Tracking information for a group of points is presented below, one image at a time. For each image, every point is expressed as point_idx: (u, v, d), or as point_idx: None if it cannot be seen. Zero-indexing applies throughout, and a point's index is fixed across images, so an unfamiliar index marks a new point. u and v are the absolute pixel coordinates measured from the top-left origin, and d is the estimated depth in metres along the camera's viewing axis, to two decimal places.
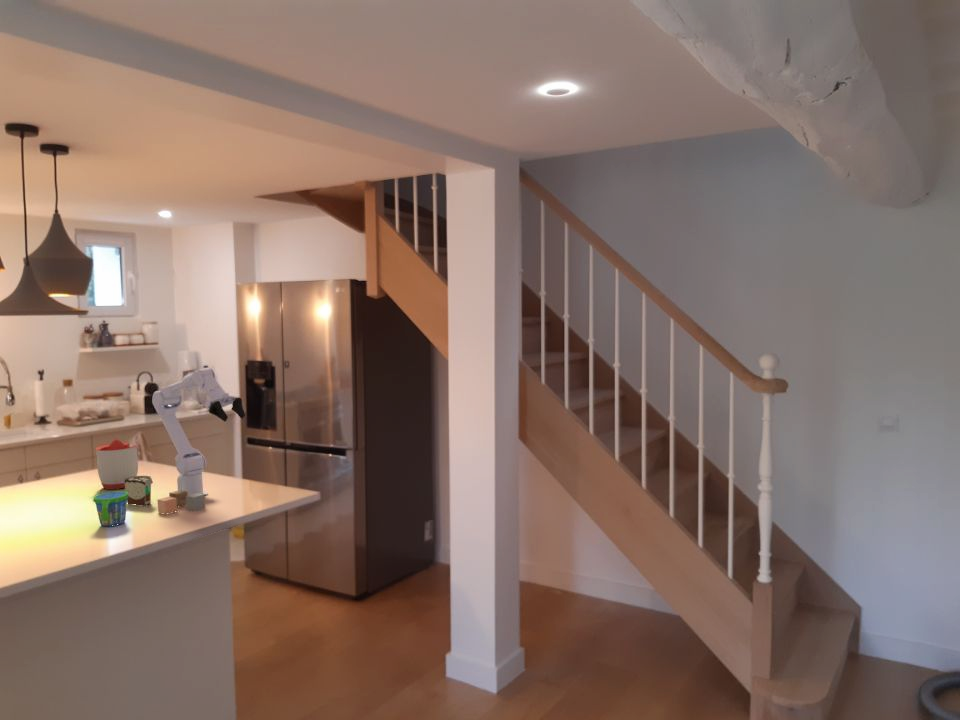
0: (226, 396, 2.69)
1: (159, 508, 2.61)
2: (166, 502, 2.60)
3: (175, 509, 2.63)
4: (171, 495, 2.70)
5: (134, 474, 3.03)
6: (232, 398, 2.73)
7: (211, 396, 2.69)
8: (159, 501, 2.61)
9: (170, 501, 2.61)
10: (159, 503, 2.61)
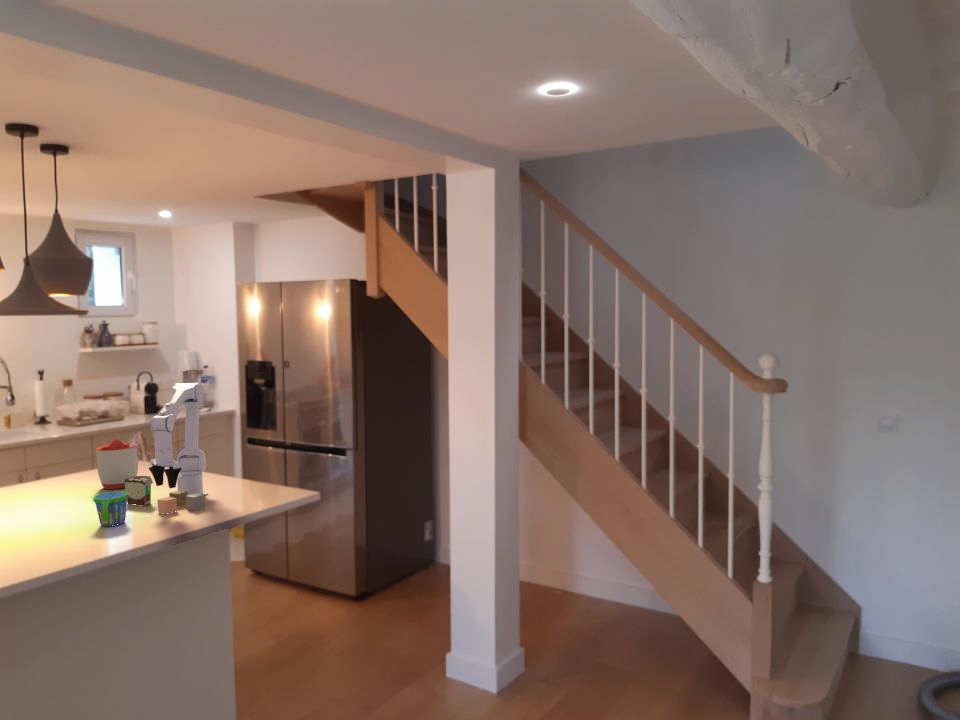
0: (157, 465, 2.59)
1: (159, 508, 2.61)
2: (166, 502, 2.60)
3: (175, 509, 2.63)
4: (171, 495, 2.70)
5: (134, 474, 3.03)
6: None
7: None
8: (159, 501, 2.61)
9: (170, 501, 2.61)
10: (159, 503, 2.61)
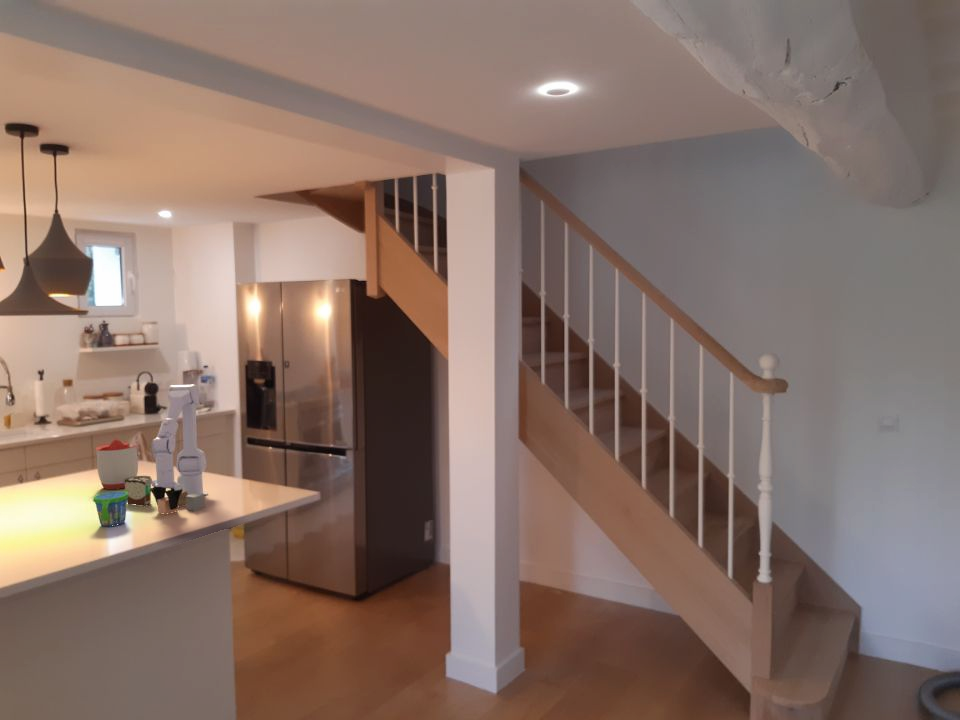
0: None
1: (159, 508, 2.61)
2: (166, 502, 2.60)
3: (175, 509, 2.63)
4: None
5: (134, 474, 3.03)
6: None
7: None
8: (159, 501, 2.61)
9: None
10: (159, 503, 2.61)
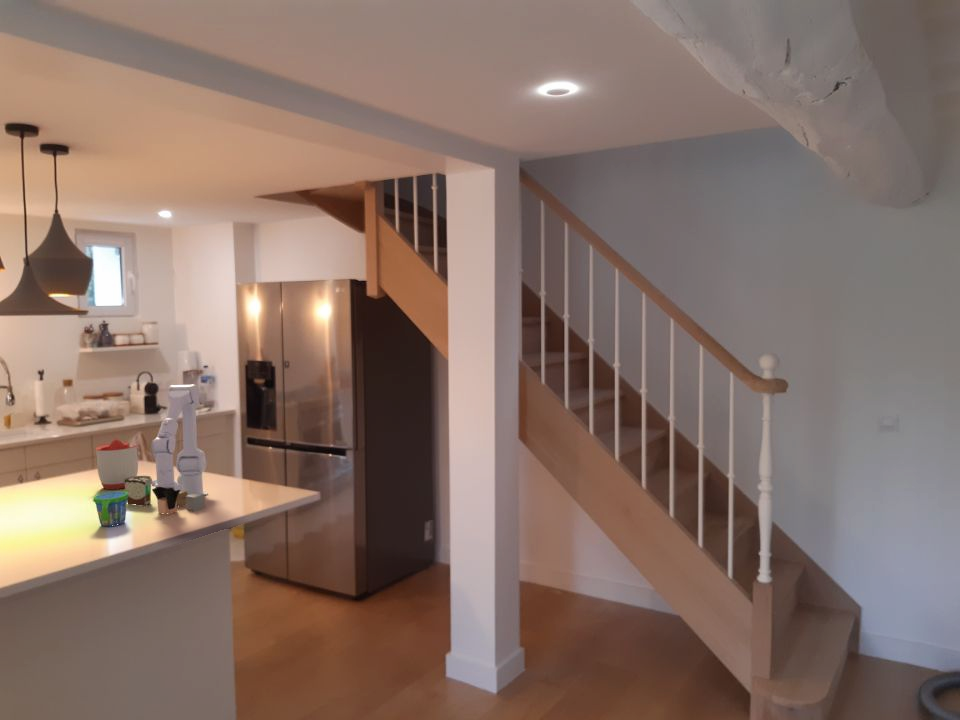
0: (159, 486, 2.59)
1: (159, 508, 2.61)
2: (166, 502, 2.60)
3: (175, 509, 2.63)
4: None
5: (134, 474, 3.03)
6: None
7: None
8: (159, 501, 2.61)
9: None
10: (159, 503, 2.61)
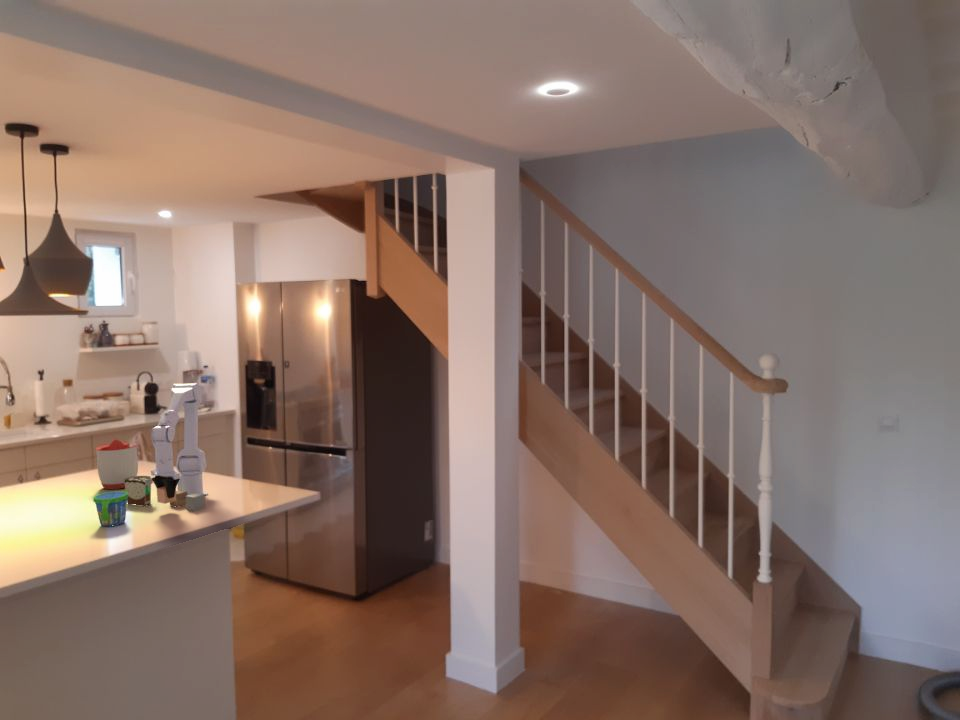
0: None
1: (158, 497, 2.61)
2: (165, 491, 2.59)
3: (174, 498, 2.62)
4: None
5: (134, 474, 3.03)
6: None
7: None
8: (158, 490, 2.61)
9: None
10: (158, 492, 2.61)
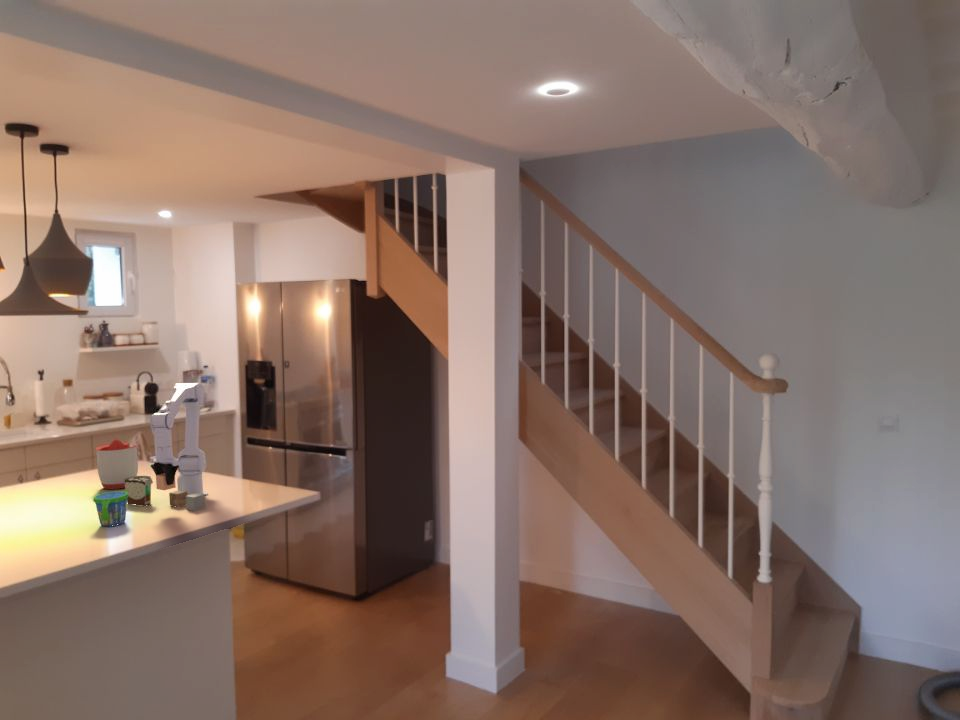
0: (157, 462, 2.59)
1: (157, 484, 2.61)
2: (164, 477, 2.59)
3: (173, 485, 2.62)
4: (171, 495, 2.70)
5: (134, 474, 3.03)
6: None
7: None
8: (157, 477, 2.60)
9: None
10: (157, 479, 2.60)
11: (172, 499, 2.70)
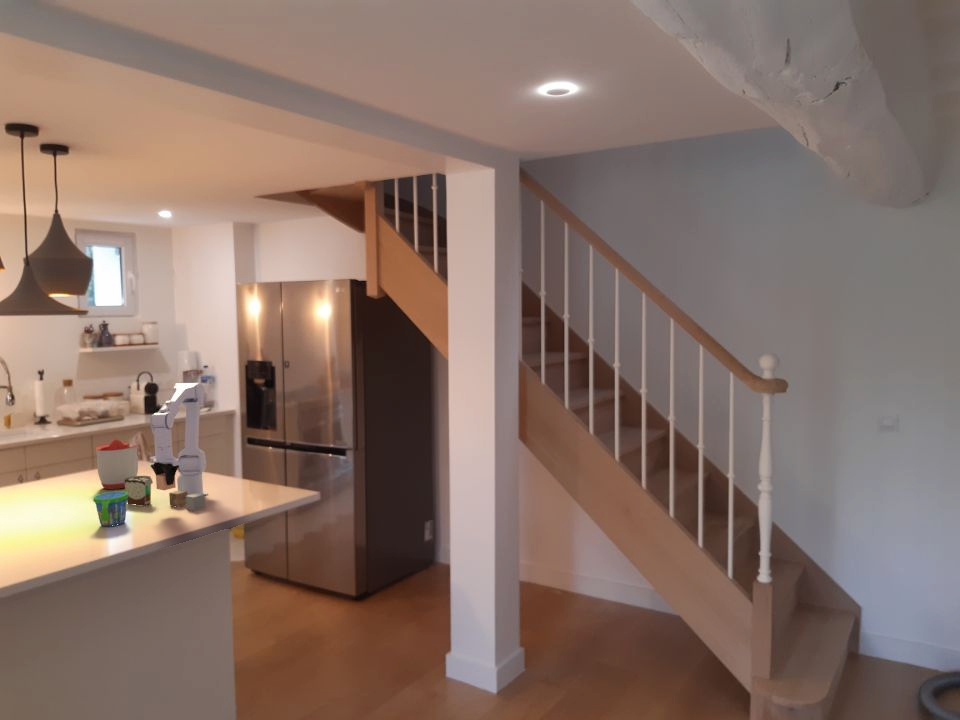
0: (157, 462, 2.59)
1: (157, 484, 2.61)
2: (164, 477, 2.59)
3: (173, 485, 2.62)
4: (171, 495, 2.70)
5: (134, 474, 3.03)
6: None
7: None
8: (157, 477, 2.60)
9: None
10: (157, 479, 2.60)
11: (172, 499, 2.70)
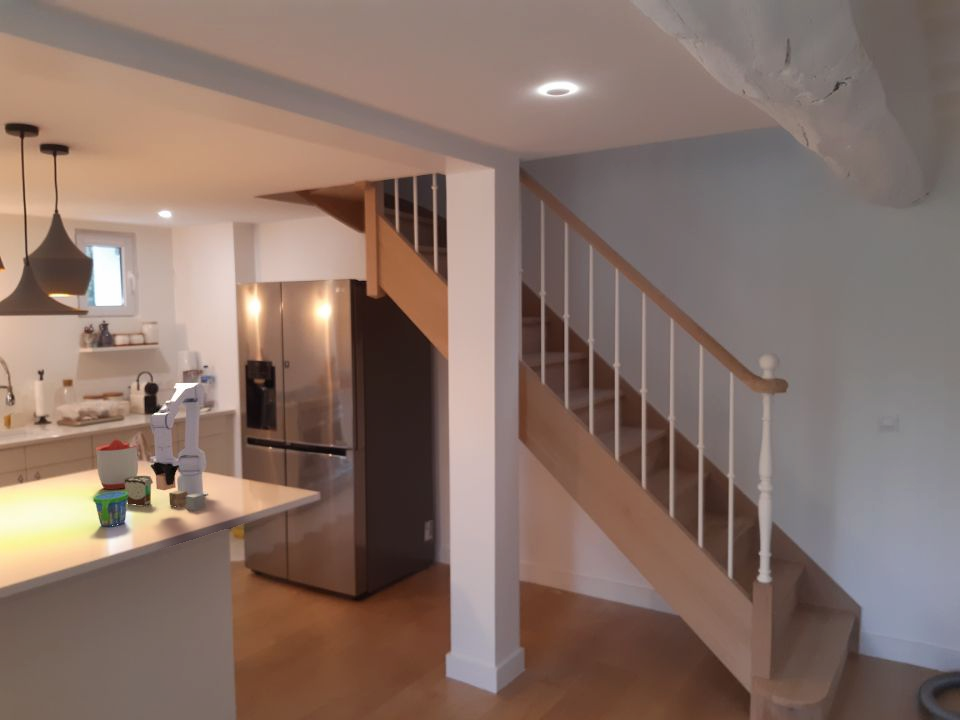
0: (157, 462, 2.59)
1: (157, 484, 2.61)
2: (164, 477, 2.59)
3: (173, 485, 2.62)
4: (171, 495, 2.70)
5: (134, 474, 3.03)
6: None
7: None
8: (157, 477, 2.60)
9: None
10: (157, 479, 2.60)
11: (172, 499, 2.70)
